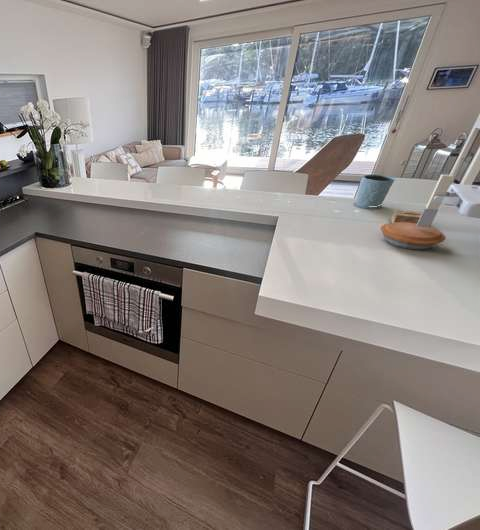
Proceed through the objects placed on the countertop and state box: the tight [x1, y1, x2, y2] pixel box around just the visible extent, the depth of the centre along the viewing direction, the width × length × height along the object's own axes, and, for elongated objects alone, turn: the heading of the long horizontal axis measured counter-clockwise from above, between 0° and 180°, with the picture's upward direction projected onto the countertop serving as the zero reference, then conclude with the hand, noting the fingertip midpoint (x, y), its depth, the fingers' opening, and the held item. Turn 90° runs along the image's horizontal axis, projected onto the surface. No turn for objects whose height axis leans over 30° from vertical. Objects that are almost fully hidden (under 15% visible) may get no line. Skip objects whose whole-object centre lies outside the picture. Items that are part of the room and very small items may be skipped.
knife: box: [416, 174, 455, 228], centre depth 86 cm, size 3×2×16 cm, turn 55°
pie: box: [379, 222, 447, 250], centre depth 93 cm, size 16×16×5 cm
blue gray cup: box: [355, 174, 396, 210], centre depth 120 cm, size 10×10×12 cm
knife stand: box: [390, 209, 423, 224], centre depth 104 cm, size 9×6×4 cm, turn 56°
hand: (433, 196), depth 86 cm, fingers closed on knife, 2 cm apart
